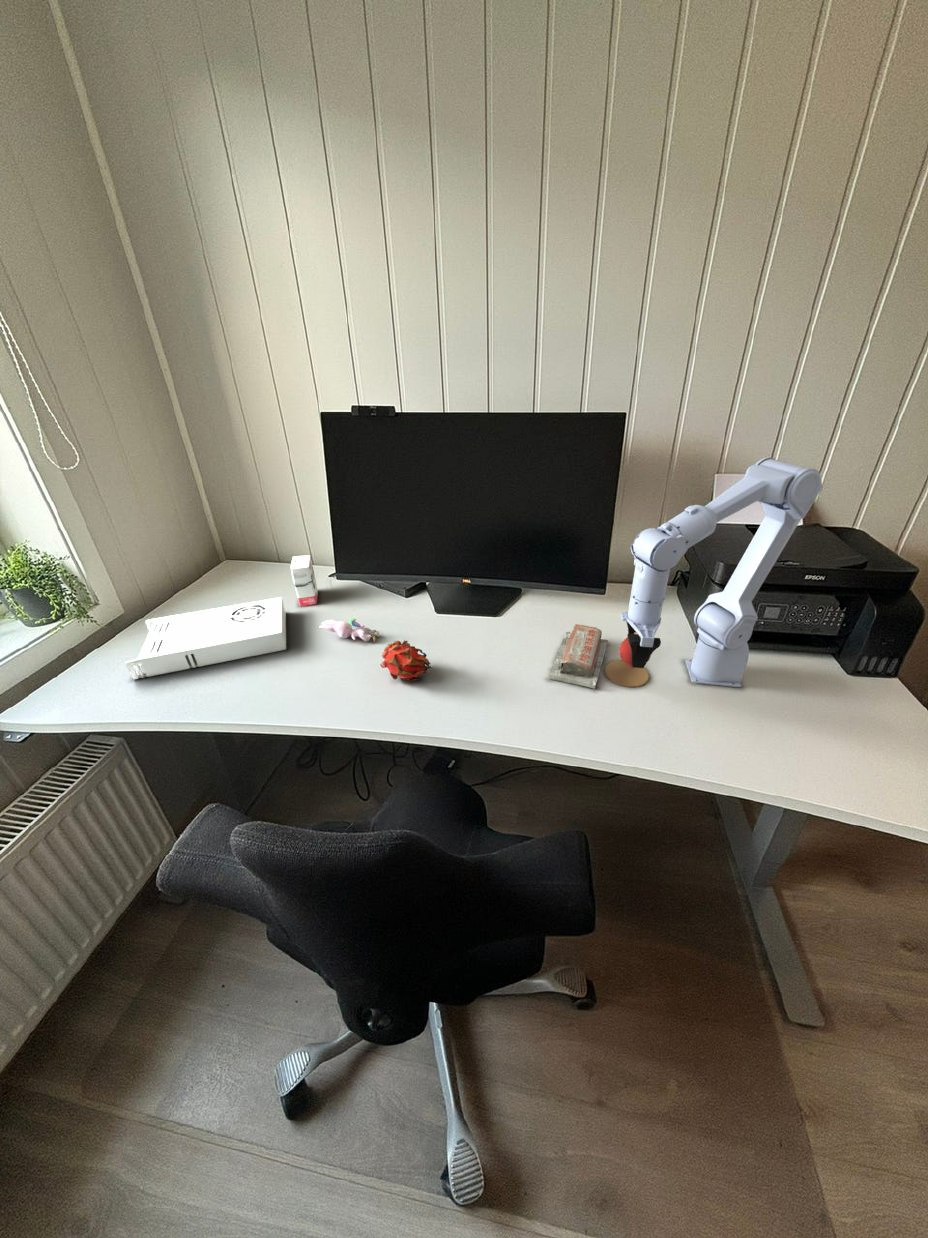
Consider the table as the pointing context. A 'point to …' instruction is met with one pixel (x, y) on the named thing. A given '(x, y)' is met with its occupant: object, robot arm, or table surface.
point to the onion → (626, 652)
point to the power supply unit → (211, 637)
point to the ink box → (304, 580)
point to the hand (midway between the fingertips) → (636, 656)
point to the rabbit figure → (349, 629)
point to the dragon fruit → (404, 661)
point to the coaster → (626, 674)
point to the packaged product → (579, 657)
